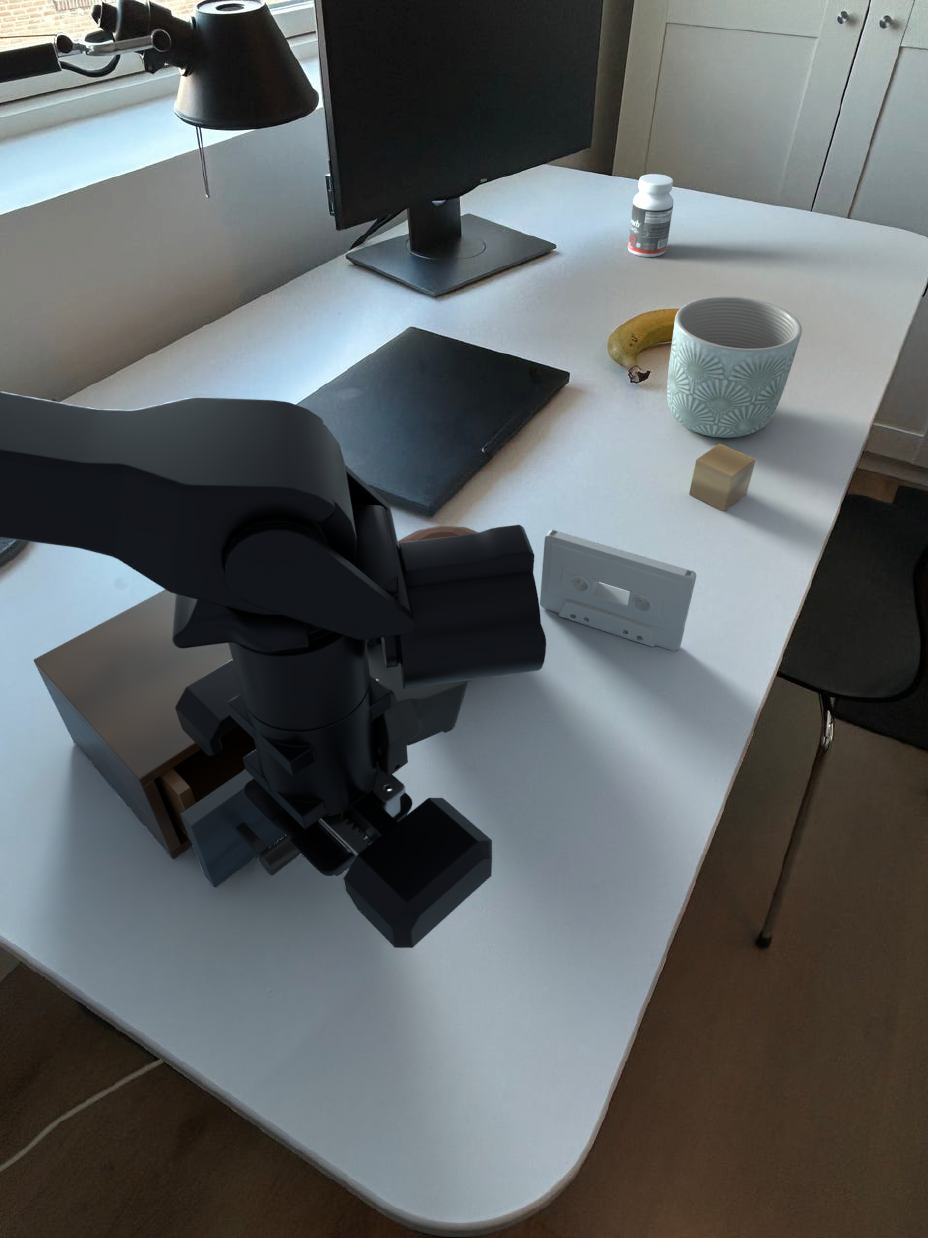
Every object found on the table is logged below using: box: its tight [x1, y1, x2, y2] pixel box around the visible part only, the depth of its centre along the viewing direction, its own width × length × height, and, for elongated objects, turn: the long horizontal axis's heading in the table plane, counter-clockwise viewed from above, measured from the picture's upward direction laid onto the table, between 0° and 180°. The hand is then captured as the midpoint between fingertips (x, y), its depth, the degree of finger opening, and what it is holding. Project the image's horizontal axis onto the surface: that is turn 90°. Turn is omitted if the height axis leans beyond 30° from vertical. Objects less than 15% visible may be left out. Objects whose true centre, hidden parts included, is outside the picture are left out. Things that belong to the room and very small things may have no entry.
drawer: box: [154, 725, 302, 889], centre depth 56 cm, size 16×10×7 cm, turn 45°
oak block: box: [688, 443, 757, 512], centre depth 84 cm, size 4×4×4 cm
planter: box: [666, 295, 803, 439], centre depth 92 cm, size 12×12×11 cm
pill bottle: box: [627, 173, 674, 258], centre depth 126 cm, size 6×6×10 cm
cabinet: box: [33, 589, 232, 860], centre depth 60 cm, size 14×12×9 cm
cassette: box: [539, 529, 697, 652], centre depth 69 cm, size 12×2×8 cm, turn 63°
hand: (340, 867), depth 50 cm, fingers closed
